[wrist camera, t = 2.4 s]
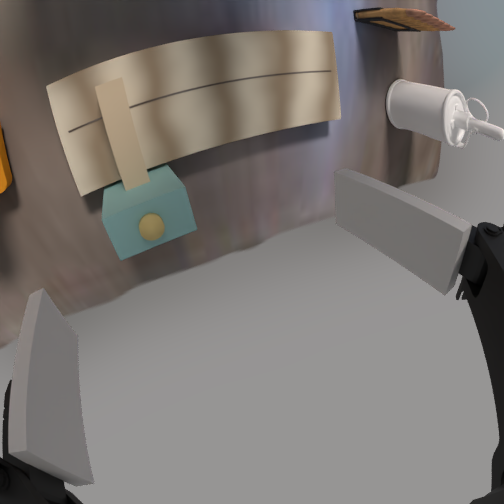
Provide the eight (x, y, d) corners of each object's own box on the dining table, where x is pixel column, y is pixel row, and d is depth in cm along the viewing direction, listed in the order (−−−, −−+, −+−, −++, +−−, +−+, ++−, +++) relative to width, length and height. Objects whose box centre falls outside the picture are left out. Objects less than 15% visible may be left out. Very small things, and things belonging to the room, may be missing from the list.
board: (83, 189, 26) (80, 196, 24) (51, 87, 19) (46, 86, 17) (328, 116, 35) (341, 118, 33) (319, 34, 28) (332, 32, 26)
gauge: (116, 215, 29) (121, 266, 21) (78, 98, 21) (57, 96, 13) (173, 192, 31) (200, 233, 23) (142, 74, 23) (156, 60, 15)
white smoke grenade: (378, 96, 36) (494, 127, 21) (404, 70, 36) (509, 93, 21) (397, 143, 43) (495, 184, 28) (420, 115, 43) (511, 148, 27)
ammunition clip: (354, 20, 28) (423, 17, 19) (352, 10, 27) (421, 4, 18) (397, 31, 31) (458, 35, 22) (396, 22, 30) (457, 24, 21)
